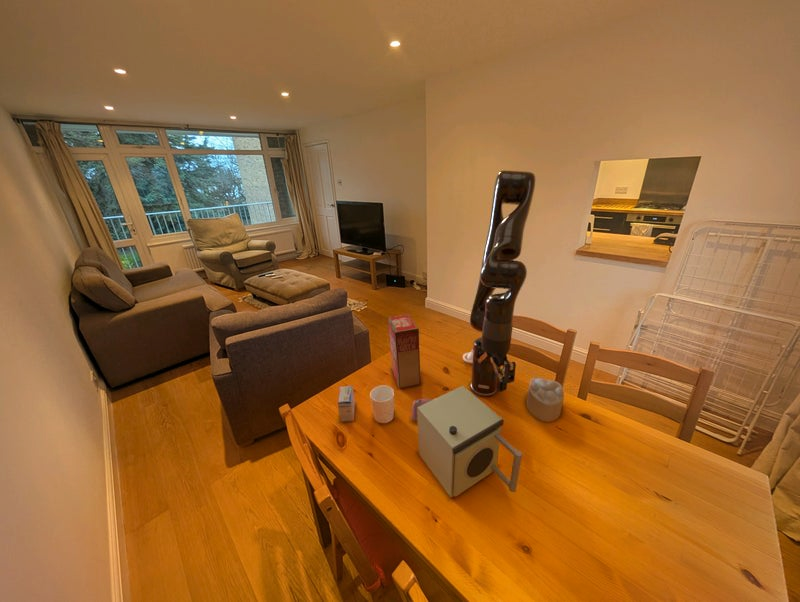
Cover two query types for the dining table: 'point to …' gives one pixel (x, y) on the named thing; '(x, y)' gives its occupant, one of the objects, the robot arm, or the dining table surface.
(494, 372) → the robot arm
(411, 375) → the food packaging
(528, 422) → the dining table surface
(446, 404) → the washer
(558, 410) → the lumpy-topped squat cylinder
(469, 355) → the ring around a ball
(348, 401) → the medicine box
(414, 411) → the video game controller
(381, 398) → the white cup
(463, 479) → the washer door
